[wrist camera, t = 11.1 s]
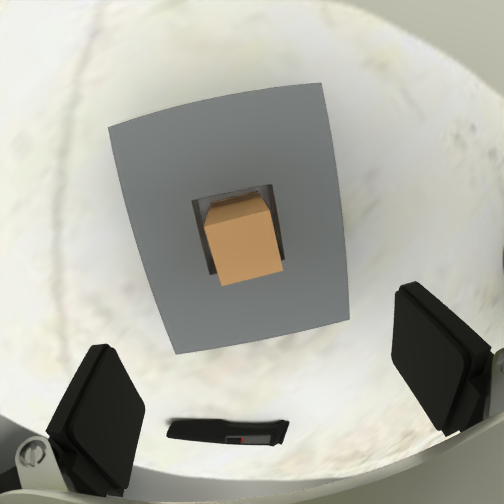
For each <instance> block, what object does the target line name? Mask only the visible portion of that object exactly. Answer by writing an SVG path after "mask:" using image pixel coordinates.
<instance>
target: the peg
mask: <svg viewBox="0 0 504 504" xmlns="http://www.w3.org/2000/svg"><path fill="white" fill-rule="evenodd" d="M204 229H205V233H206V236H207V239H208V243H209V246H210V249H211V253H212V256H213V259H214V263H215V266H216V269H217V272H218V276H219V279H220V282H221V285H222V286H224V285H228V284H232V283H236V282H240V281H244V280H248V279H252V278H256V277H260V276H264V275H268V274H272V273H276V272H280V271H283V267H282V263H281V258H280V254H279V249H278V245H277V240H276V236H275V231H274V227H273V223H272V218H271V214H270V210H269V208H268V207H267V205H266V204H265V202H264V201H263V199H262V197H261V196H260V194H259V193H258V191H255V192H251V193H247V194H243V195H239V196H235V197H231V198H227V199H223V200H219V201H216V202H212V203H211V204H210V208H209V211H208V214H207V218H206V221H205V224H204Z"/></svg>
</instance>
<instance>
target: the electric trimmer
mask: <svg viewBox="0 0 504 504" xmlns="http://www.w3.org/2000/svg"><path fill="white" fill-rule="evenodd" d="M288 426H289V422H285V420H281V422H280V423H279V424H263V425H239V424H228V423H226V422H224V421H221V420H215V421H174V422H173V423H172V424H171V426H170V427H169V429H168V431H167V435H166V437H168V438H173V439H181V440H189V441H199V442H210V443H220V444H236V445H270V446H275V445H276V444H278V443H279V444H282V443H283V440H284V437H285V434H286V431H287V429H288Z"/></svg>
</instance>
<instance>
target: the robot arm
mask: <svg viewBox="0 0 504 504" xmlns="http://www.w3.org/2000/svg"><path fill="white" fill-rule="evenodd" d="M490 350H491V346H490V345H489V344H487V343H486V342H485V341H484V340H483V339H482V338H481V337H480V336H479V335H478V334H477V333H476V332H475V331H474V330H472V329H471V328H470V327H469V326H468V325H467V324H466V323H465V322H464V321H463V320H461V319H460V318H459V317H458V316H457V315H456V314H455V313H454V312H452V311H451V310H450V309H449V308H448V307H447V306H446V305H444V304H443V303H442V302H441V301H440V300H439V299H437V298H436V297H435V296H434V295H433V294H431V293H430V292H429V291H428V290H427V289H426V288H424V287H423V286H422V285H421V284H420V283H418V282H416V281H415V282H411V283H408V284H404V285H401V286H400V288H399V291H396V293H395V308H394V326H393V340H392V352H391V357H392V361H393V364H394V365H395V367H396V368H397V370H398V371H399V373H400V374H401V376H402V377H403V379H404V380H405V382H406V383H407V385H408V386H409V388H410V389H411V391H412V392H413V394H414V395H415V397H416V398H417V400H418V401H419V403H420V405H421V406H422V408H423V409H424V411H425V412H426V414H427V416H428V417H429V419H430V420H431V422H432V423H433V425H434V427H435V428H436V429H437V430H438V431H440V430H442V432H443V433H444V435H445V437H447V436H449V435H451V434H453V433H455V432H457V431H458V430H459V431H460V432H461V433H459V434H457V435H455V436H453V437H451V438H449V439H447V440H445V441H443V442H441V443H439V444H437V445H435V446H432V447H430V448H428V449H426V450H424V451H421V452H419V453H417V454H414V455H412V456H410V457H407V458H405V459H402V460H400V461H397V462H395V463H392V464H389V465H387V466H384V467H381V468H378V469H375V470H372V471H369V472H366V473H363V474H360V475H357V476H354V477H350V478H347V479H343V480H340V481H336V482H332V483H329V484H325V485H320V486H316V487H312V488H308V489H303V490H298V491H293V492H288V493H282V494H276V495H270V496H262V497H255V498H247V499H238V500H225V501H211V502H210V501H209V502H151V501H136V500H125V499H115V498H106V495H107V494H108V495H111V496H119V497H123V493H124V489H127V488H128V485H129V481H130V476H131V471H132V466H133V462H134V457H135V453H136V448H137V444H138V440H139V435H140V431H141V427H142V423H143V419H144V414H145V405H144V402H143V400H142V399H141V397H140V395H139V393H138V392H137V390H136V388H135V386H134V385H133V383H132V381H131V379H130V377H129V375H128V373H127V372H126V370H125V368H124V366H123V364H122V362H121V360H120V358H119V356H118V354H117V352H116V350H115V349H114V348H112V347H110V346H109V345H108V344H99V345H92V346H91V347H90V349H89V350H88V352H87V354H86V356H85V357H84V359H83V361H82V363H81V364H80V366H79V368H78V370H77V371H76V373H75V375H74V377H73V379H72V381H71V382H70V384H69V386H68V388H67V390H66V392H65V394H64V396H63V397H62V399H61V401H60V403H59V405H58V407H57V409H56V411H55V413H54V415H53V417H52V419H51V421H50V423H49V425H48V427H47V429H46V432H47V434H48V435H49V436H50V437H49V439H48V440H47V439H45V438H44V437H40V436H35V437H31V438H28V439H27V440H25V441H24V442H23V443H22V444H21V445H20V446H19V448H18V450H17V452H16V456H15V459H16V466H15V467H13V468H11V469H10V470H8V471H6V472H4V473H2V474H0V504H504V348H502V349H500V350H498V351H497V352H496V353H495V355H494V354H493V353H492V352H491V351H490Z"/></svg>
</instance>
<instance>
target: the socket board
mask: <svg viewBox="0 0 504 504" xmlns="http://www.w3.org/2000/svg"><path fill="white" fill-rule="evenodd" d="M108 130H109V135H110V140H111V145H112V150H113V155H114V159H115V164H116V168H117V172H118V177H119V181H120V185H121V189H122V193H123V197H124V201H125V204H126V208H127V212H128V216H129V219H130V223H131V226H132V230H133V233H134V237H135V240H136V243H137V247H138V250H139V253H140V256H141V260H142V263H143V266H144V269H145V272H146V275H147V278H148V281H149V284H150V287H151V290H152V293H153V296H154V298H155V301H156V304H157V307H158V310H159V312H160V315H161V318H162V320H163V323H164V326H165V328H166V331H167V334H168V336H169V339H170V341H171V344H172V346H173V349H174V351H175V354H183V353H190V352H197V351H203V350H209V349H215V348H221V347H227V346H232V345H238V344H243V343H249V342H254V341H259V340H264V339H269V338H273V337H278V336H283V335H287V334H292V333H296V332H301V331H305V330H309V329H314V328H318V327H322V326H326V325H330V324H334V323H338V322H342V321H345V320H349V319H350V314H349V292H348V275H347V261H346V249H345V237H344V227H343V217H342V208H341V200H340V192H339V184H338V176H337V169H336V162H335V156H334V149H333V143H332V137H331V131H330V125H329V120H328V114H327V109H326V104H325V99H324V94H323V89H322V84H321V83H311V84H300V85H291V86H283V87H275V88H268V89H261V90H255V91H248V92H243V93H237V94H231V95H226V96H221V97H216V98H211V99H207V100H202V101H198V102H194V103H189V104H185V105H181V106H177V107H173V108H170V109H166V110H162V111H159V112H155V113H152V114H148V115H145V116H141V117H138V118H135V119H132V120H129V121H126V122H123V123H120V124H117V125H114V126H111V127H108ZM263 185H268V190H269V195H270V201H271V206H272V212H273V218H274V223H275V229H276V235H277V241H278V249H279V254H280V258H281V263H282V267H283V271H280V272H276V273H272V274H268V275H264V276H260V277H256V278H252V279H248V280H244V281H240V282H236V283H232V284H228V285H224V286H222V285H221V282H220V279H219V276H218V272H217V269H216V266H215V263H214V259H212V258H211V254H210V250H209V246H208V242H207V238H206V234H205V230H204V226H203V222H202V217H201V213H200V209H199V205H198V200H197V199H200V198H205V197H209V196H214V195H219V194H223V193H228V192H233V191H238V190H243V189H248V188H253V187H258V186H263Z"/></svg>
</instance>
